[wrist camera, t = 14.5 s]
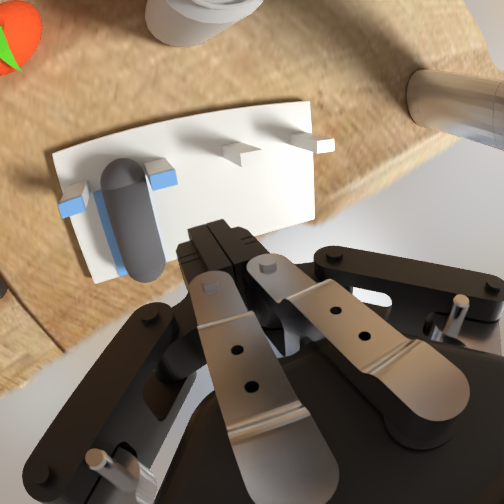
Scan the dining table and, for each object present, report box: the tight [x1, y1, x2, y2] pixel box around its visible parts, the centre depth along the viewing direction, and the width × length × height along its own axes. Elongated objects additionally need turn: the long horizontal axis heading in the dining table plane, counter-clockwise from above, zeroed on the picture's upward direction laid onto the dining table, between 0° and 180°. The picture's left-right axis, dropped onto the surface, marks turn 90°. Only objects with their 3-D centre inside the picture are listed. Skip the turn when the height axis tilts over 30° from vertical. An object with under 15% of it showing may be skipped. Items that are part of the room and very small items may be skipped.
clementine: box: [0, 0, 42, 76], centre depth 14 cm, size 8×7×7 cm
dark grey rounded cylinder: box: [100, 158, 165, 283], centre depth 26 cm, size 12×4×4 cm, turn 6°
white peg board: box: [52, 101, 334, 284], centre depth 28 cm, size 26×14×7 cm, turn 96°
